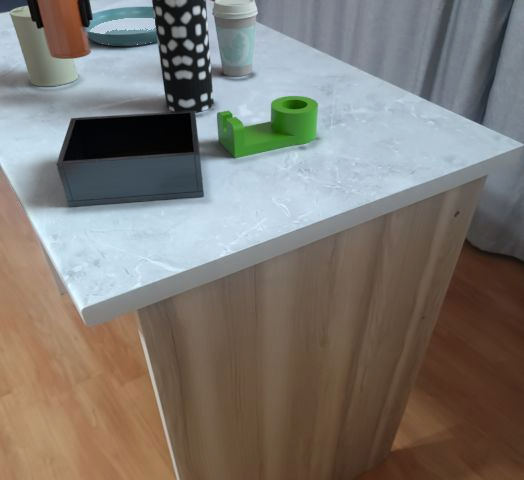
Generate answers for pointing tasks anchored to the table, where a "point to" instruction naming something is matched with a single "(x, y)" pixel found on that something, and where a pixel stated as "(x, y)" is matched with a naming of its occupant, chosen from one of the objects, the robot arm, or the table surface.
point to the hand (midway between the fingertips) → (64, 25)
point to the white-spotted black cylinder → (184, 53)
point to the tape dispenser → (270, 127)
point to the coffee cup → (235, 34)
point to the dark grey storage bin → (131, 158)
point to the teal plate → (123, 35)
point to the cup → (64, 28)
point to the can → (40, 53)
